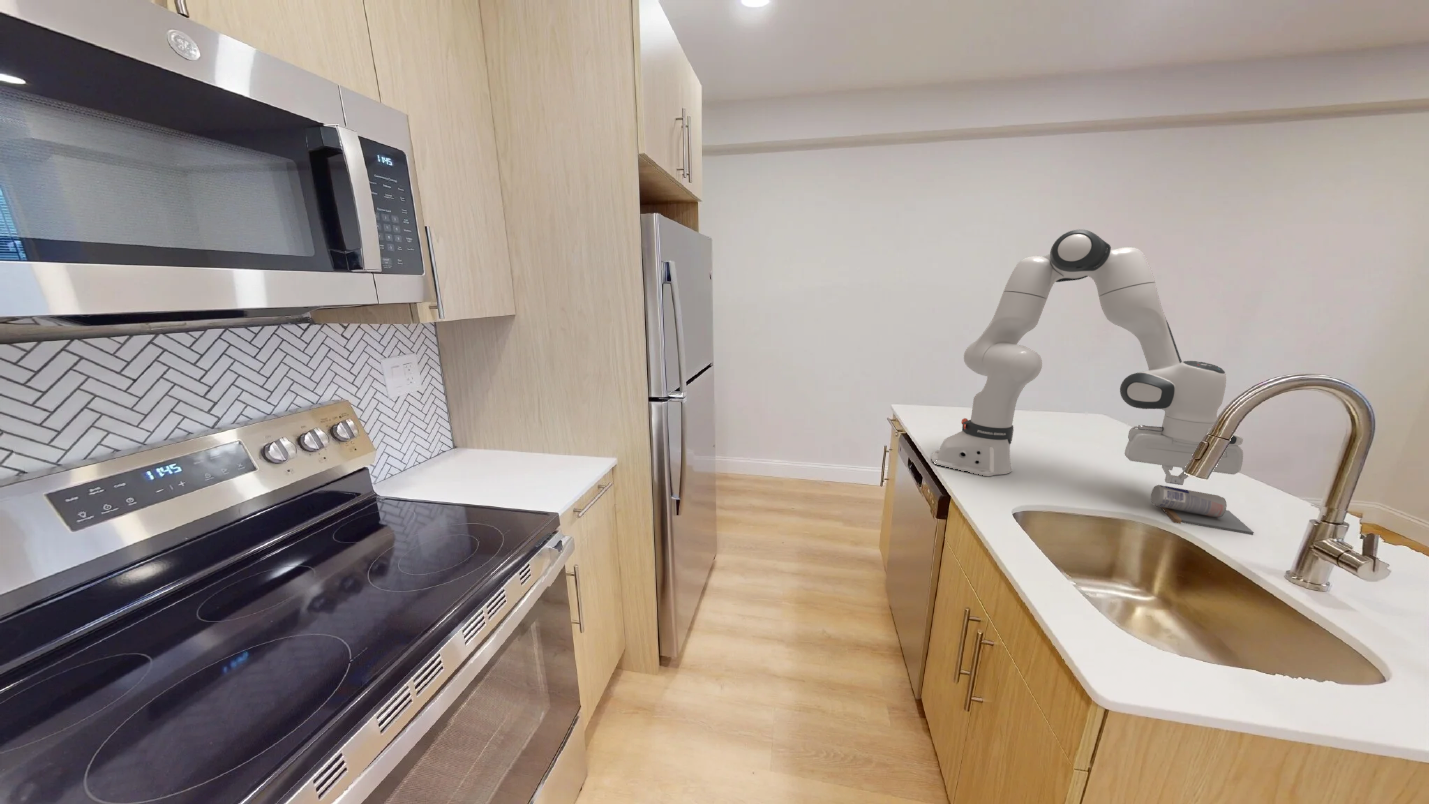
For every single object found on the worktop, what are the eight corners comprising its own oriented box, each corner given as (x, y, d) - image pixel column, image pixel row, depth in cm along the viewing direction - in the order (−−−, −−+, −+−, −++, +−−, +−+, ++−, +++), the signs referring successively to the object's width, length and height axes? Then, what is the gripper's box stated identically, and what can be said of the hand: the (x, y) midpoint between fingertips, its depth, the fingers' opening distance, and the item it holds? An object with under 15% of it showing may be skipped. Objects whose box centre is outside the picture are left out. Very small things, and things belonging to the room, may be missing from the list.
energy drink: (1148, 493, 119) (1211, 504, 114) (1152, 509, 116) (1217, 522, 111) (1157, 480, 116) (1223, 491, 110) (1162, 496, 112) (1229, 509, 107)
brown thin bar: (1174, 522, 110) (1175, 518, 110) (1154, 499, 122) (1155, 496, 121) (1180, 523, 109) (1181, 520, 109) (1160, 500, 121) (1161, 497, 121)
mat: (1181, 522, 110) (1182, 520, 110) (1163, 502, 120) (1164, 500, 120) (1253, 534, 104) (1253, 532, 104) (1228, 512, 114) (1228, 510, 114)
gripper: (1134, 427, 113) (1122, 479, 116) (1253, 439, 103) (1237, 496, 106) (1127, 420, 118) (1116, 471, 121) (1239, 432, 108) (1224, 486, 112)
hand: (1173, 483), depth 114 cm, fingers closed
